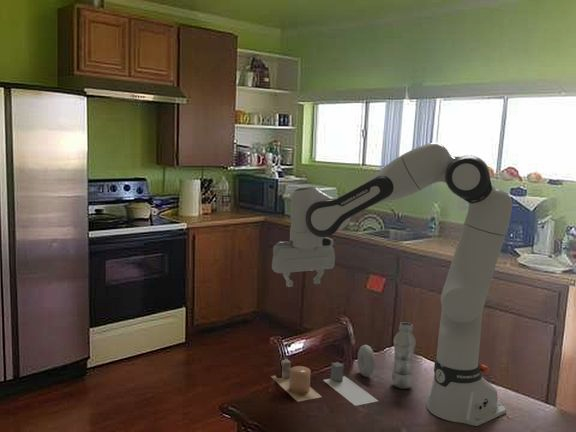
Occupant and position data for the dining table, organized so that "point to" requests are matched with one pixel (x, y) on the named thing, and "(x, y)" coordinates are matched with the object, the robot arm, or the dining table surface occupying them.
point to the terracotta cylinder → (299, 380)
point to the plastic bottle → (403, 357)
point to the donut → (366, 360)
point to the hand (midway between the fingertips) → (303, 285)
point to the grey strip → (347, 386)
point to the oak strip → (286, 379)
